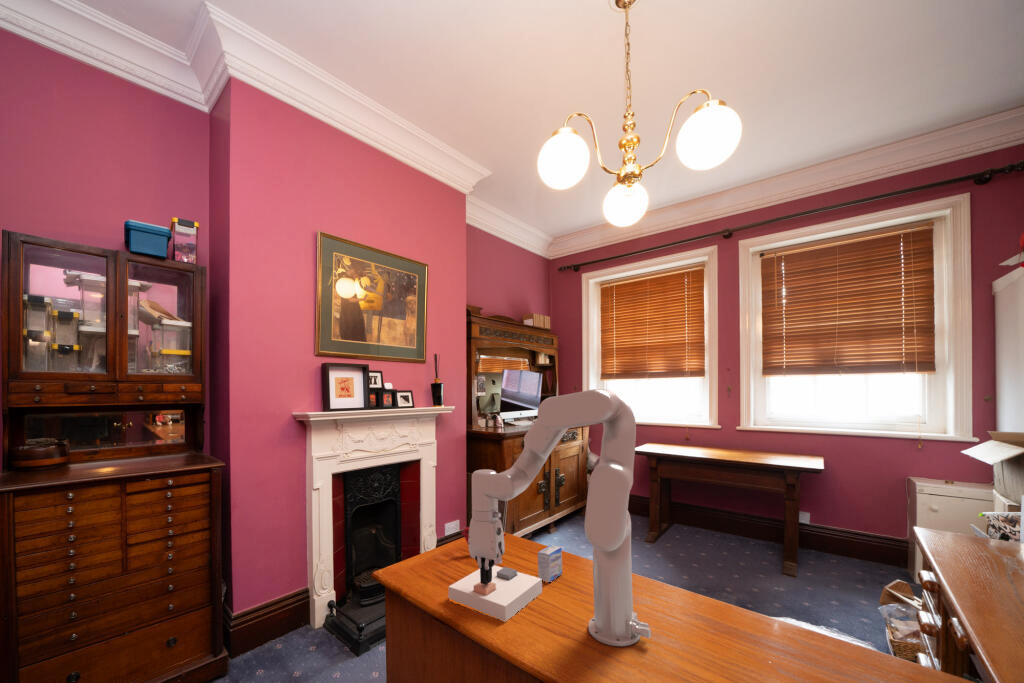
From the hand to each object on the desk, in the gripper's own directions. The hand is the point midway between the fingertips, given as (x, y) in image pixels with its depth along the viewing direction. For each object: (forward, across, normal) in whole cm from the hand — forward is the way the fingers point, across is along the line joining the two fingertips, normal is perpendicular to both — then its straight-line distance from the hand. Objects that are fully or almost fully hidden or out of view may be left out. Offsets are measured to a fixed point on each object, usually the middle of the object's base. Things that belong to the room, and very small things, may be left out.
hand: (486, 582), depth 117 cm
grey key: (+4, +1, -11) cm, 12 cm away
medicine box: (+7, -6, -25) cm, 27 cm away
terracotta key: (+4, +1, 0) cm, 4 cm away
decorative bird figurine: (+6, +24, -29) cm, 38 cm away
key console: (+6, +1, -5) cm, 8 cm away
